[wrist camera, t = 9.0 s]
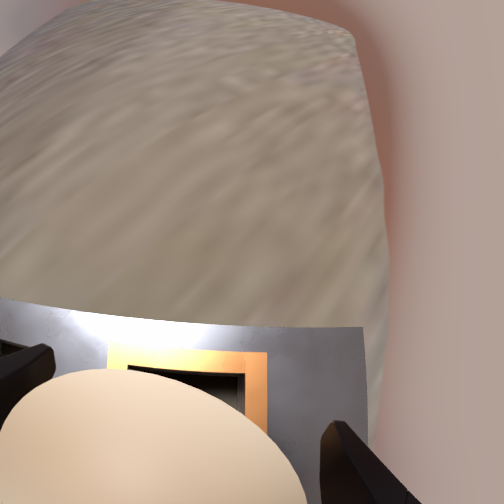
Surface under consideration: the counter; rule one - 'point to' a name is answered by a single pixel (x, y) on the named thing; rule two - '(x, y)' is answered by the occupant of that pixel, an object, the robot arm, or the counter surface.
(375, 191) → the counter surface
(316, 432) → the silver slotted plate
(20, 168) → the counter surface
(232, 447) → the peg
